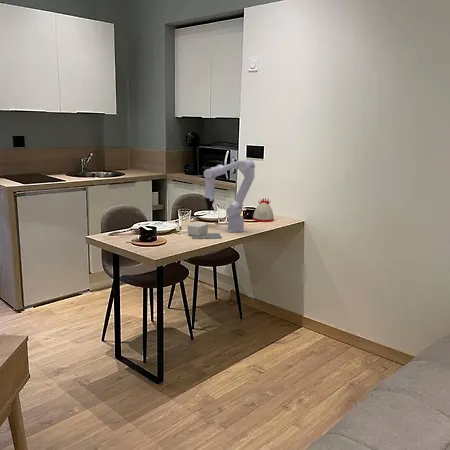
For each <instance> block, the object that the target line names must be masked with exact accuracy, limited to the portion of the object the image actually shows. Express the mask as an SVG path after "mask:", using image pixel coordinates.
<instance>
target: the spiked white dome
mask: <svg viewBox="0 0 450 450" xmlns="http://www.w3.org/2000/svg"><path fill="white" fill-rule="evenodd" d="M269 199H270V198H264V197H263V198H262V199H260V200H258V205H257V206H256V208H255V210H254V212H253V215H252V220H253V221H255V222H258V223H271V222H274V221H275V220H274V216H275V215H274V211H273V209H272V207H271V206H270V203H271V201H269Z"/></svg>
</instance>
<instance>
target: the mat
mask: <svg viewBox="0 0 450 450" xmlns="http://www.w3.org/2000/svg"><path fill="white" fill-rule="evenodd" d="M190 236H191V239H192V240H208V239H209V240H212V239H213V240H215V239H216V240H217V239H218V240H222V239H223V237H222V236H221V234H220V233H219V232H216V233H215V232H209V233H205V234H203V235H201V236H195V235H190ZM221 238H222V239H221Z"/></svg>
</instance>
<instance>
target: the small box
mask: <svg viewBox="0 0 450 450" xmlns="http://www.w3.org/2000/svg"><path fill="white" fill-rule="evenodd" d="M208 232H209V224H208V223H205V222H199V221H195V222H193V223H190V224H188V225H187V235H188V236H189V235H190V236H191V235H195V236H201V235H203V234H205V233H208Z"/></svg>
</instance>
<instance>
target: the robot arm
mask: <svg viewBox="0 0 450 450" xmlns="http://www.w3.org/2000/svg"><path fill="white" fill-rule="evenodd" d="M255 168H256V165H255V162H254V161H253V160H252V159H242V160H238V161H237V160H236V161H233V162H231V163H229V164H226V165H223V164H217V165H216V166H212V167H210V168H207V169H205V170H203V176H204V179H205V180H204V181H205V182H204V183H205V184H204V194H203V195H202V197H204V201H205V204H206V208H207V211H212V208H213V204H214V203H215V182H216V177H219V176H222V175H225V174H226V172H227V171H230V170H234V169H236V170H239V172H241V175H243V180H242V182H241V185H240V186H239V188H238V191H237V192H236V195H235V197H234V199H233V201H232V202H231V203H230V204H229V206H228V207H227V208H226V209H225V212H226V215H227V227H226V228H225V229H226V230H227V232H228V233H244V226H245V219H244V216H241V214H242V212H243V207H244V204H243V203H244V201H245V199H246V196H247V195H248V192H249V190H250V189H251V186H252V183H253V182H254V180H255Z"/></svg>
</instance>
